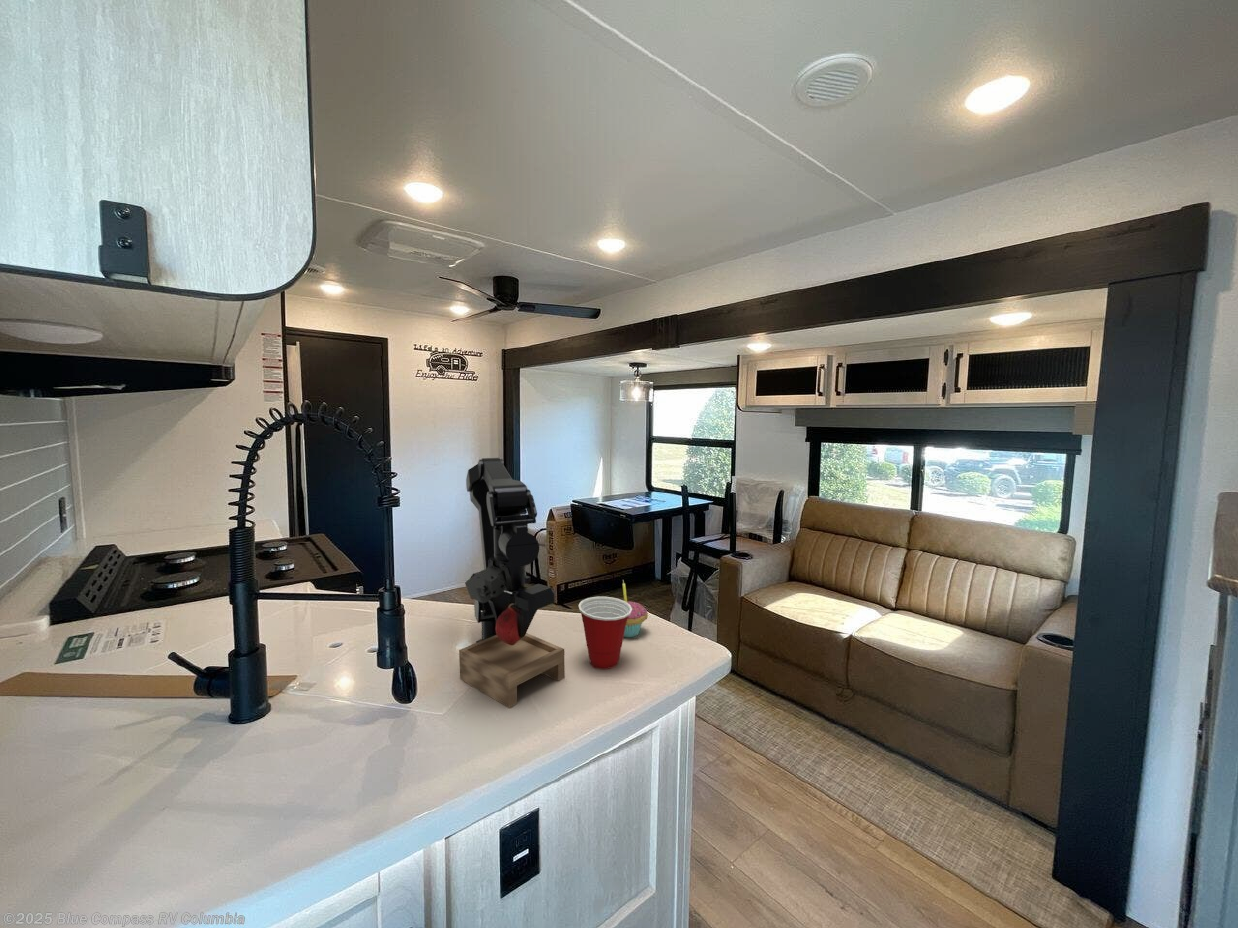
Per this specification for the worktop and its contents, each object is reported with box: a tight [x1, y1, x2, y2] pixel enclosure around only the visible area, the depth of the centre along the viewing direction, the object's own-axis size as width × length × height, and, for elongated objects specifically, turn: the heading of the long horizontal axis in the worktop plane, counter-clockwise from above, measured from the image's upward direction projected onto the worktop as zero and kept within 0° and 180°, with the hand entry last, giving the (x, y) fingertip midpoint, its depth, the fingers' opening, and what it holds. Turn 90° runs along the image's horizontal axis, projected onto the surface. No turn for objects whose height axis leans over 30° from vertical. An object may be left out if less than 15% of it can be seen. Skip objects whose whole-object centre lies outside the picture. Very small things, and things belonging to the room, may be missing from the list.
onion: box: [495, 604, 521, 645], centre depth 93 cm, size 6×6×8 cm
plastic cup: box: [578, 596, 632, 670], centre depth 99 cm, size 11×11×12 cm
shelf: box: [458, 632, 566, 709], centre depth 93 cm, size 15×13×6 cm
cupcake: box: [622, 579, 649, 638], centre depth 113 cm, size 9×8×12 cm
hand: (511, 632), depth 93 cm, fingers closed on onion, 6 cm apart
